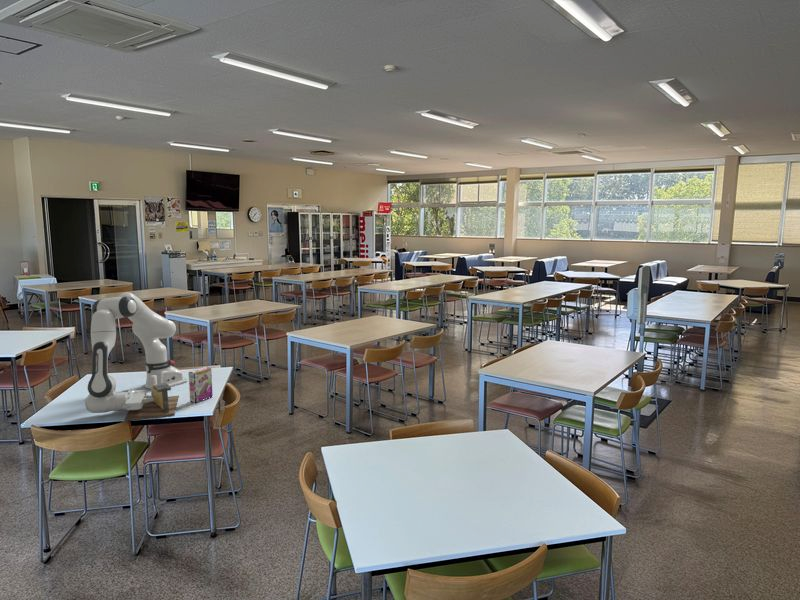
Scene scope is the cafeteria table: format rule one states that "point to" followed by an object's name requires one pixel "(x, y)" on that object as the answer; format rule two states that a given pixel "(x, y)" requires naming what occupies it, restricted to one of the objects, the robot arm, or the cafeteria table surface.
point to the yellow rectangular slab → (158, 396)
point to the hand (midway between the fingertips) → (154, 398)
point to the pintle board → (155, 406)
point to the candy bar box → (200, 384)
